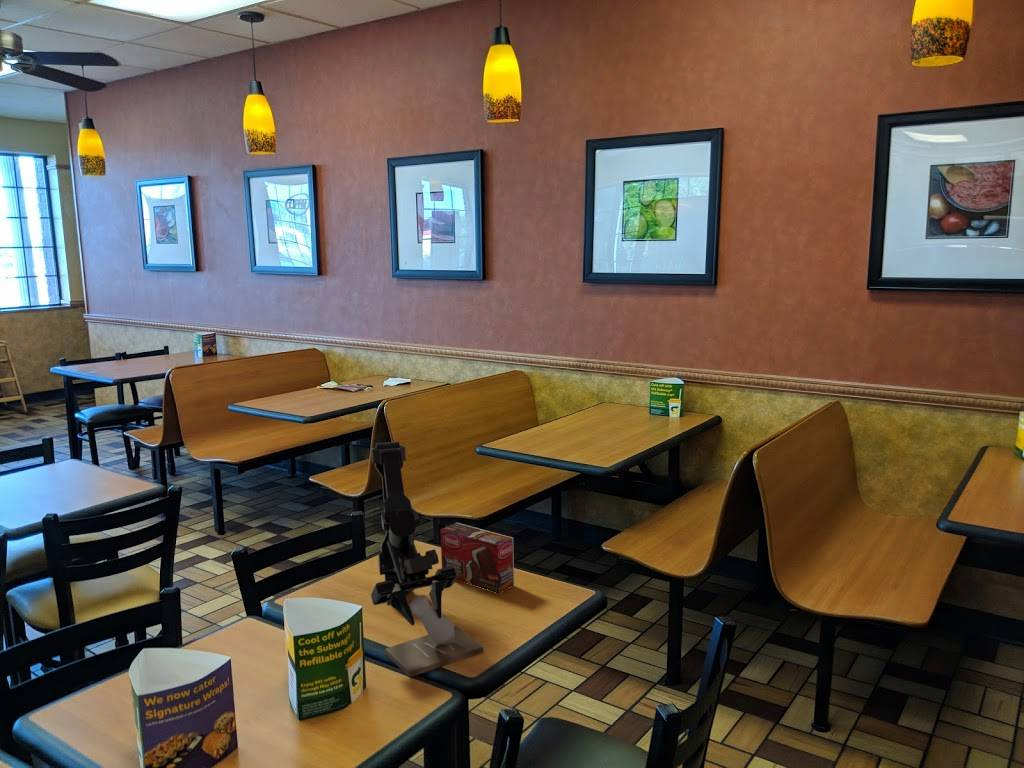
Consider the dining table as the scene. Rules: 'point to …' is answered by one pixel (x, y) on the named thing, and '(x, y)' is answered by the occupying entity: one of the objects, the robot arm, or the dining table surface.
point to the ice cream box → (478, 556)
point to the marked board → (432, 653)
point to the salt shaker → (433, 621)
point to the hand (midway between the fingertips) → (426, 621)
